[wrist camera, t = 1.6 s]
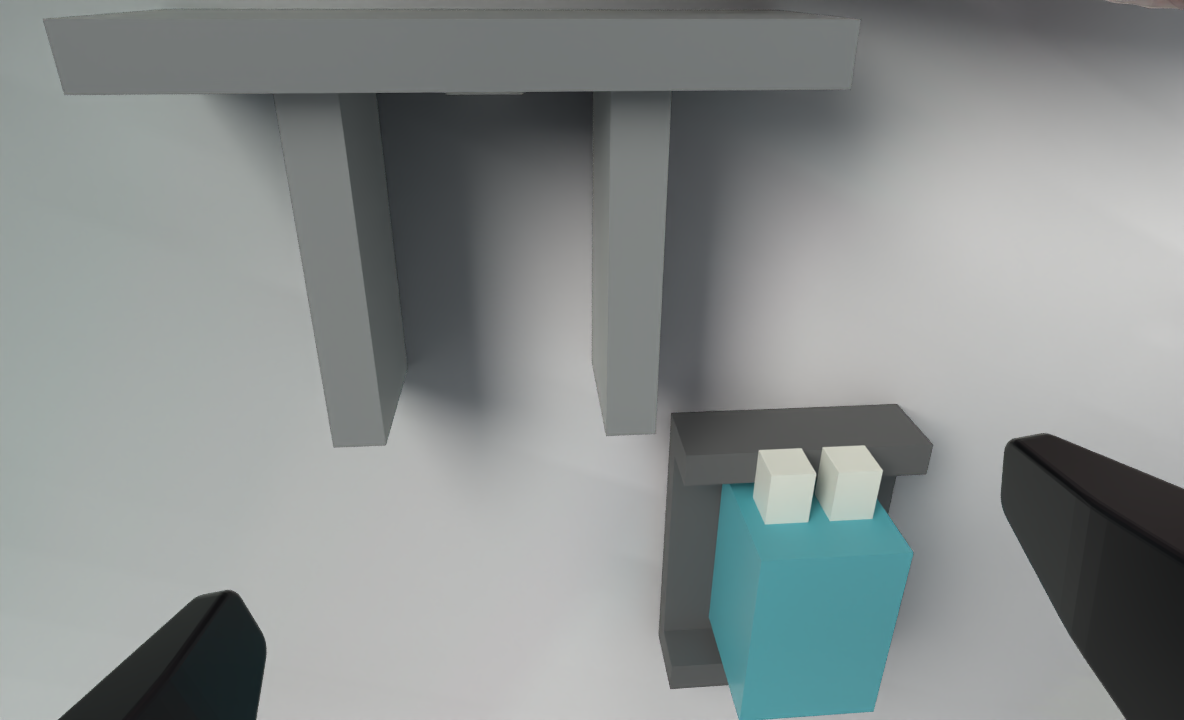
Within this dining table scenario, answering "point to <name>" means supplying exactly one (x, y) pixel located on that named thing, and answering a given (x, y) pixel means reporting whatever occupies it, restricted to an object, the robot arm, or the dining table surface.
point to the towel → (1153, 3)
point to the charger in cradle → (729, 455)
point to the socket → (458, 67)
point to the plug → (806, 585)
